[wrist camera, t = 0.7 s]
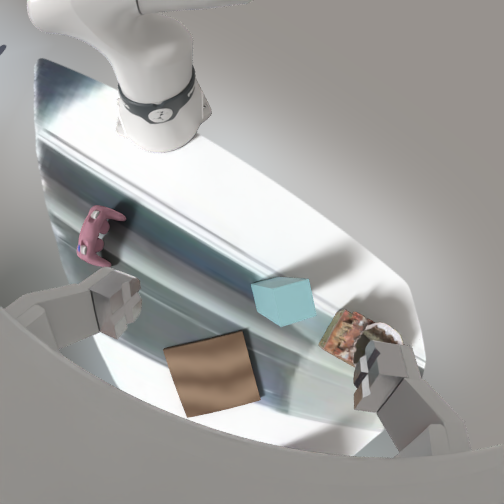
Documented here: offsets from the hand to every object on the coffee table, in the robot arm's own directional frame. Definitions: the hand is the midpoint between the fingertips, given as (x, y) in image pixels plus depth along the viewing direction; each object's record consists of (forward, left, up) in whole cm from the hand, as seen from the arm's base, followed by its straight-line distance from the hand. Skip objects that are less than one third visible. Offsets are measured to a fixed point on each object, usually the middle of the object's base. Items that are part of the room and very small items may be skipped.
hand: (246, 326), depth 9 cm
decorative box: (+19, +26, -38) cm, 50 cm away
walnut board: (+17, -3, -38) cm, 42 cm away
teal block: (+5, +10, -38) cm, 40 cm away
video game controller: (-11, -16, -38) cm, 43 cm away
